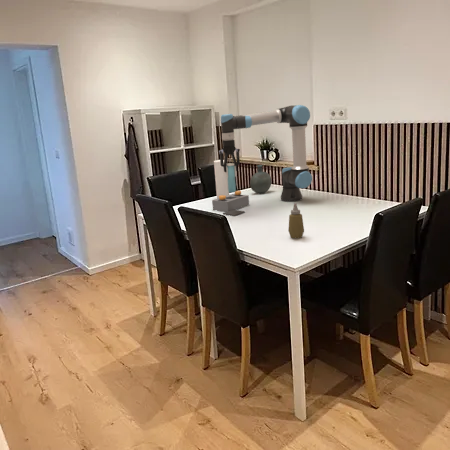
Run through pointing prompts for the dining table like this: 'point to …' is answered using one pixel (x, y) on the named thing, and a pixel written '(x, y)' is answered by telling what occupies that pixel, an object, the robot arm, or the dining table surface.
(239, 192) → the plunger
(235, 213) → the mat
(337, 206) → the dining table surface
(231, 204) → the block
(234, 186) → the block
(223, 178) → the cylinder container
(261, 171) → the flask
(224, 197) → the plunger
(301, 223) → the squeeze bottle
